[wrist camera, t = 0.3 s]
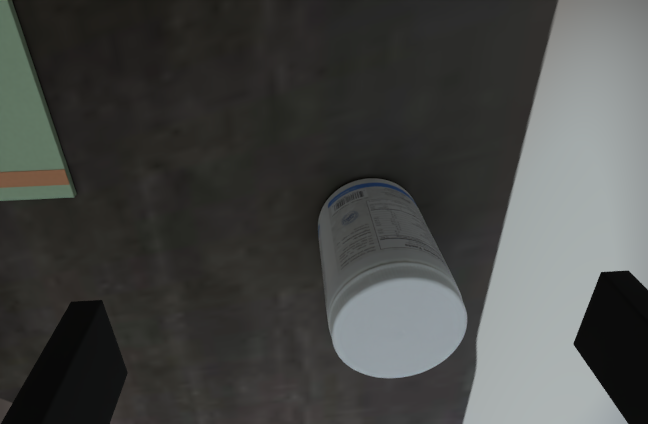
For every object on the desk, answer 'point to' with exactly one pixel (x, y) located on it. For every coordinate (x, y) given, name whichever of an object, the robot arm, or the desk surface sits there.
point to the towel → (26, 124)
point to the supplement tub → (386, 282)
